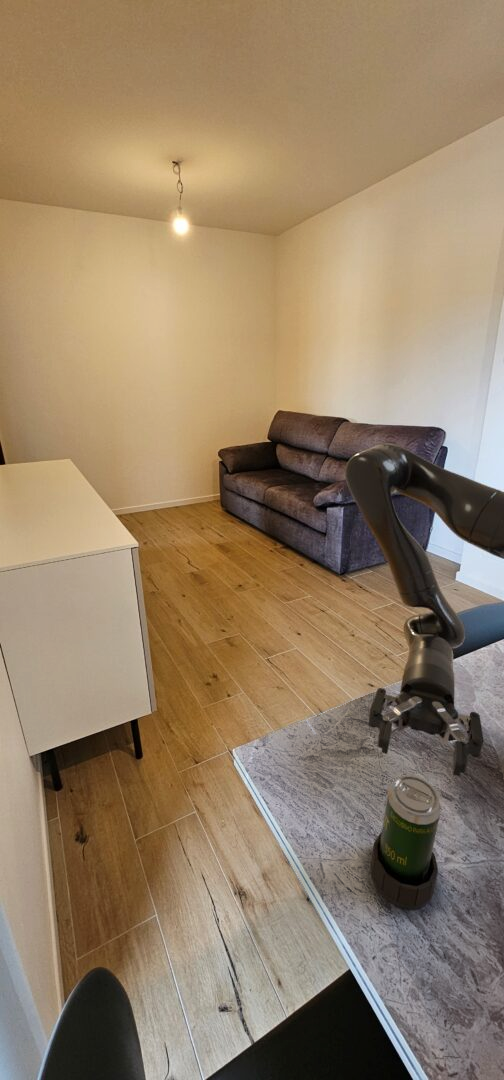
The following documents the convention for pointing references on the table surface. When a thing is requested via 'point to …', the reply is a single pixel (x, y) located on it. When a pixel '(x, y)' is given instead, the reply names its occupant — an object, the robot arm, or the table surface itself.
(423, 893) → the coaster dock
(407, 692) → the robot arm
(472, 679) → the table surface
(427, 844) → the beer can
